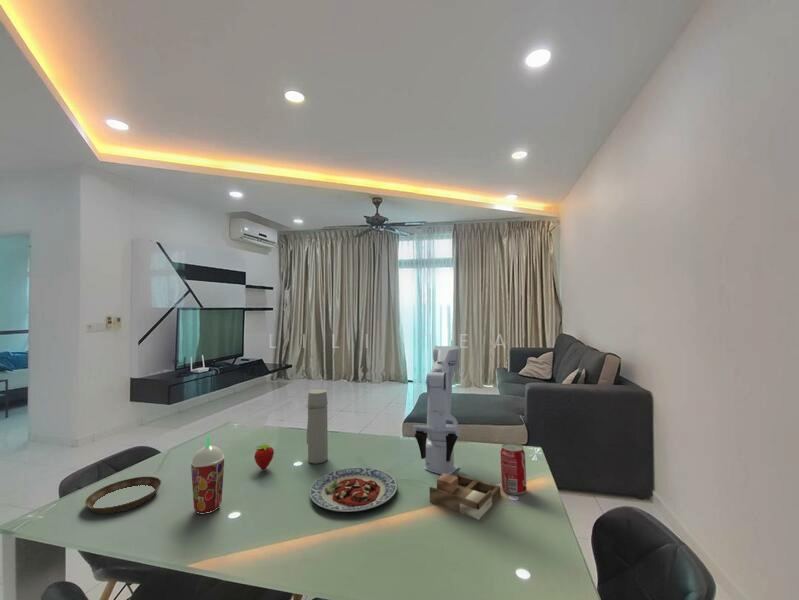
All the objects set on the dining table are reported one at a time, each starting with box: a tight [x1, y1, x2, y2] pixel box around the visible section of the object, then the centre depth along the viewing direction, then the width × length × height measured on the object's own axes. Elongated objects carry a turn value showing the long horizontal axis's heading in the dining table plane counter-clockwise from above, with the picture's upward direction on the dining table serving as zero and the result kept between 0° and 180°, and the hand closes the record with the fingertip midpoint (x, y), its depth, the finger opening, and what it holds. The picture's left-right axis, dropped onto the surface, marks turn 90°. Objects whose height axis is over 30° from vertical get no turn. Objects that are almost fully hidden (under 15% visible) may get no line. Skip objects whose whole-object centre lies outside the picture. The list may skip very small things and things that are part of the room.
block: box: [436, 473, 458, 493], centre depth 104 cm, size 4×4×3 cm
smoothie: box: [190, 435, 226, 513], centre depth 99 cm, size 8×8×20 cm
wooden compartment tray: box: [429, 472, 502, 520], centre depth 103 cm, size 15×15×4 cm
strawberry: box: [254, 444, 275, 471], centre depth 123 cm, size 6×8×10 cm
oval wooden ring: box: [84, 476, 162, 514], centre depth 105 cm, size 18×18×3 cm
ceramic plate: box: [309, 466, 398, 513], centre depth 107 cm, size 26×26×3 cm
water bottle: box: [305, 389, 329, 465], centre depth 131 cm, size 9×8×25 cm
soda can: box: [500, 442, 527, 496], centre depth 107 cm, size 7×7×13 cm
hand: (435, 459), depth 106 cm, fingers open, 7 cm apart
